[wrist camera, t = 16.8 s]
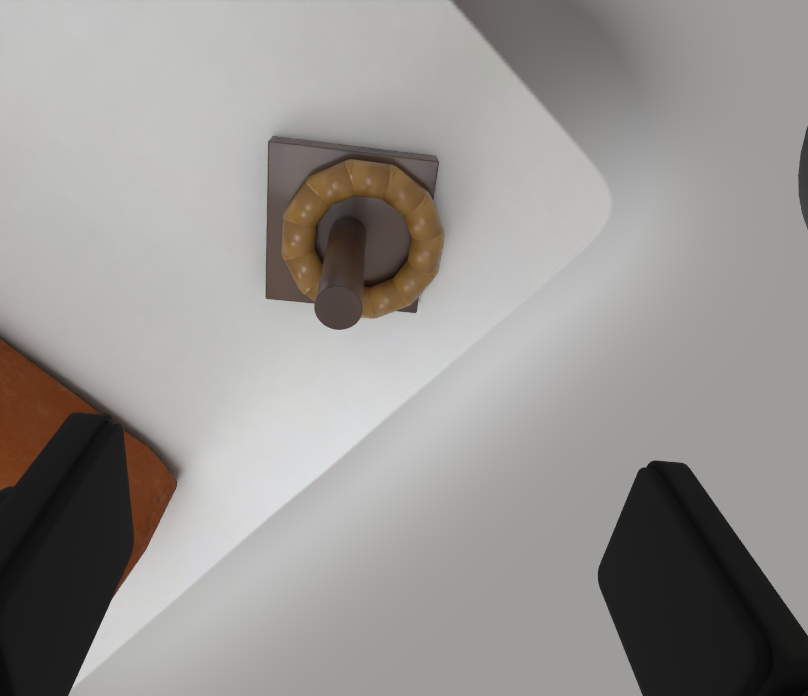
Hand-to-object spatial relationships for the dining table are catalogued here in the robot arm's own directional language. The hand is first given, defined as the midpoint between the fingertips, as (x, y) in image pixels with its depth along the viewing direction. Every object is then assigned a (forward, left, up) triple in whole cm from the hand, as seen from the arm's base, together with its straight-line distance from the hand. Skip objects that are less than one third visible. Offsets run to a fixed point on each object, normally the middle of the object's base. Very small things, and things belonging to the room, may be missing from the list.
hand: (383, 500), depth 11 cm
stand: (+1, +3, -26) cm, 26 cm away
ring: (0, +3, -24) cm, 24 cm away
